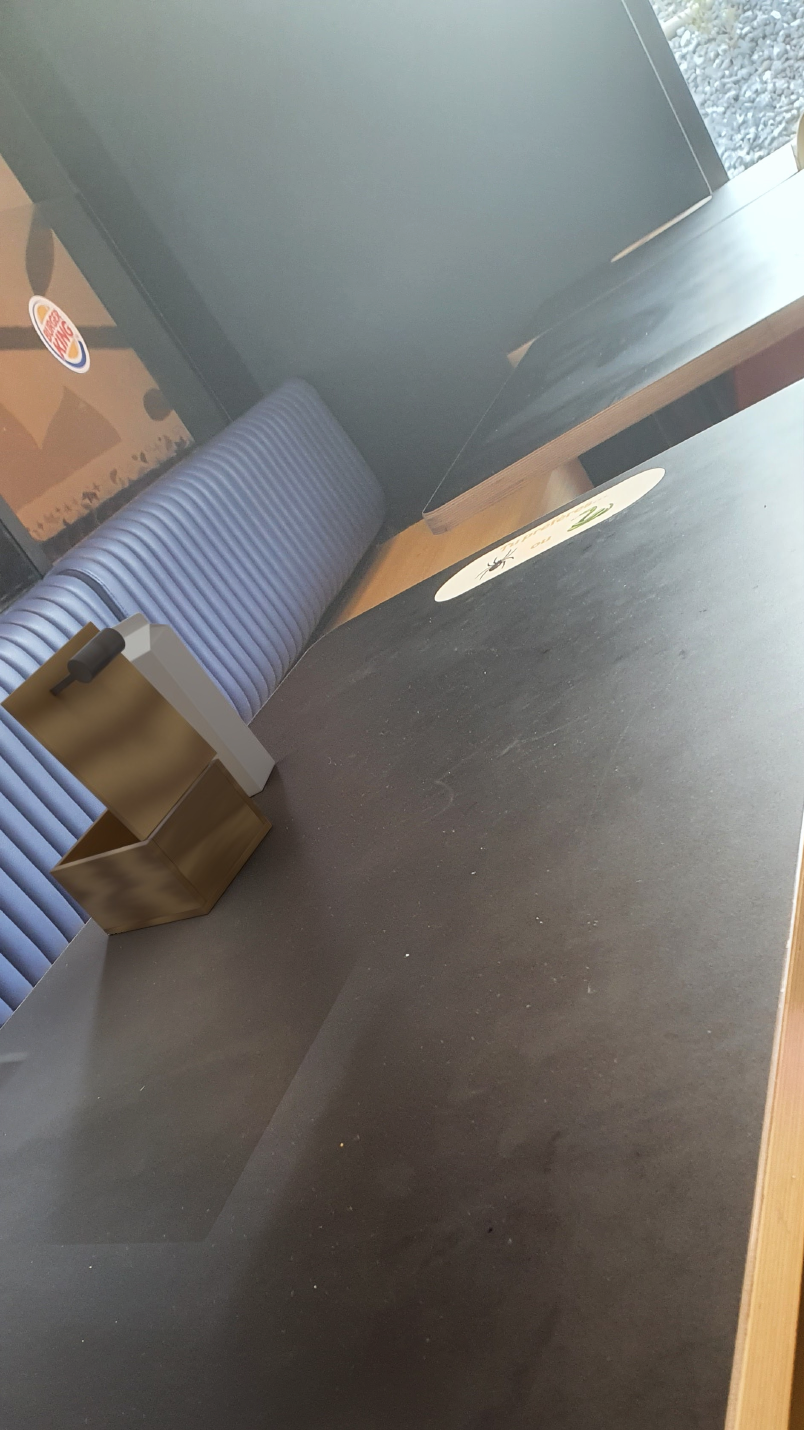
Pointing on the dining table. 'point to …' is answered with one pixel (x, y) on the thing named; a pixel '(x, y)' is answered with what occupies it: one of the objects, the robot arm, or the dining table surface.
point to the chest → (165, 857)
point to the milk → (196, 699)
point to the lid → (111, 728)
